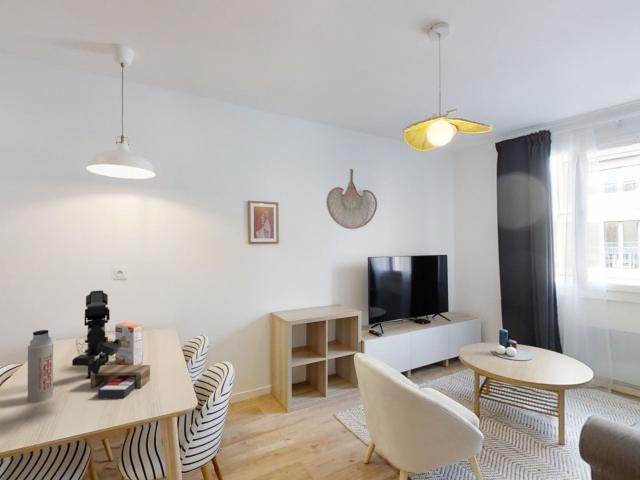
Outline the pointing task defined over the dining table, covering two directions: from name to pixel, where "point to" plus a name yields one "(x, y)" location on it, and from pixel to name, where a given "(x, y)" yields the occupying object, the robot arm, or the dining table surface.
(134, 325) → the cracker box
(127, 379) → the calculator
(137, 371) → the overhang shelf
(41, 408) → the dining table surface
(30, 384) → the thermos bottle
